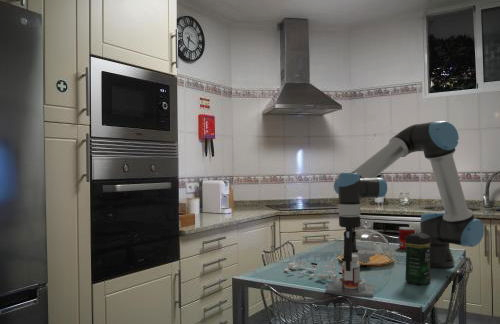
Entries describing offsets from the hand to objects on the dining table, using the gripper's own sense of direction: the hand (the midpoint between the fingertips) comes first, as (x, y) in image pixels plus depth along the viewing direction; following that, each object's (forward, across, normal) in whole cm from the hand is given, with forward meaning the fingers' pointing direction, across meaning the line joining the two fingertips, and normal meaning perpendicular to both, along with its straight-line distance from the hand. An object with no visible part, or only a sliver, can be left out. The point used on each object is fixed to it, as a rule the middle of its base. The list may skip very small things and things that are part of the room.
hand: (350, 275), depth 144 cm
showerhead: (+6, -38, +2) cm, 38 cm away
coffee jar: (+6, -18, +23) cm, 30 cm away
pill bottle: (+4, 0, 0) cm, 4 cm away
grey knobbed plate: (+5, 0, 0) cm, 5 cm away
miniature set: (+5, -16, -16) cm, 23 cm away
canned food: (+6, -85, +21) cm, 88 cm away
